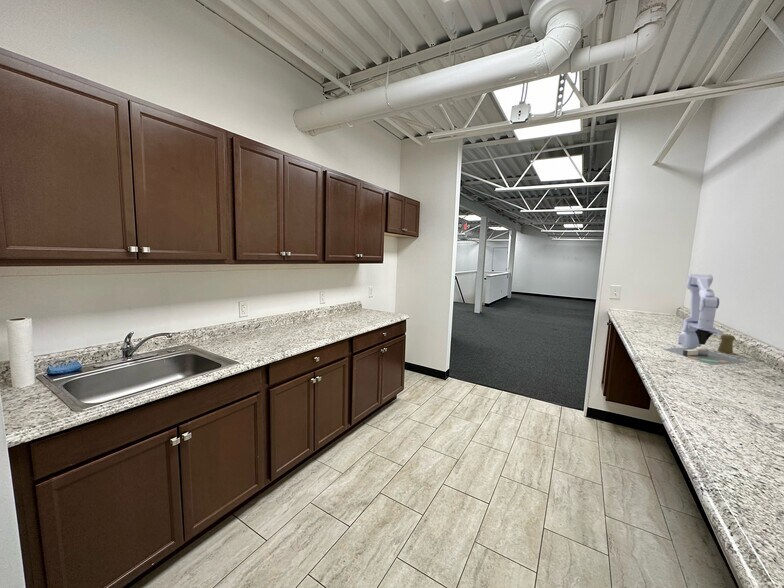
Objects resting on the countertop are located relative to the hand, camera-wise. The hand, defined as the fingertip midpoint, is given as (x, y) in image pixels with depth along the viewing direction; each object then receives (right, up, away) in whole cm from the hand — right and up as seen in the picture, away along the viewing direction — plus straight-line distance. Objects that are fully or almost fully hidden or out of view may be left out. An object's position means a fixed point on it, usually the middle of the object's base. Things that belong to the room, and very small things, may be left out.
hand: (701, 344), depth 164 cm
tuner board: (0, -7, 0) cm, 7 cm away
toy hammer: (-4, -6, 0) cm, 7 cm away
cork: (+19, -7, +6) cm, 21 cm away
